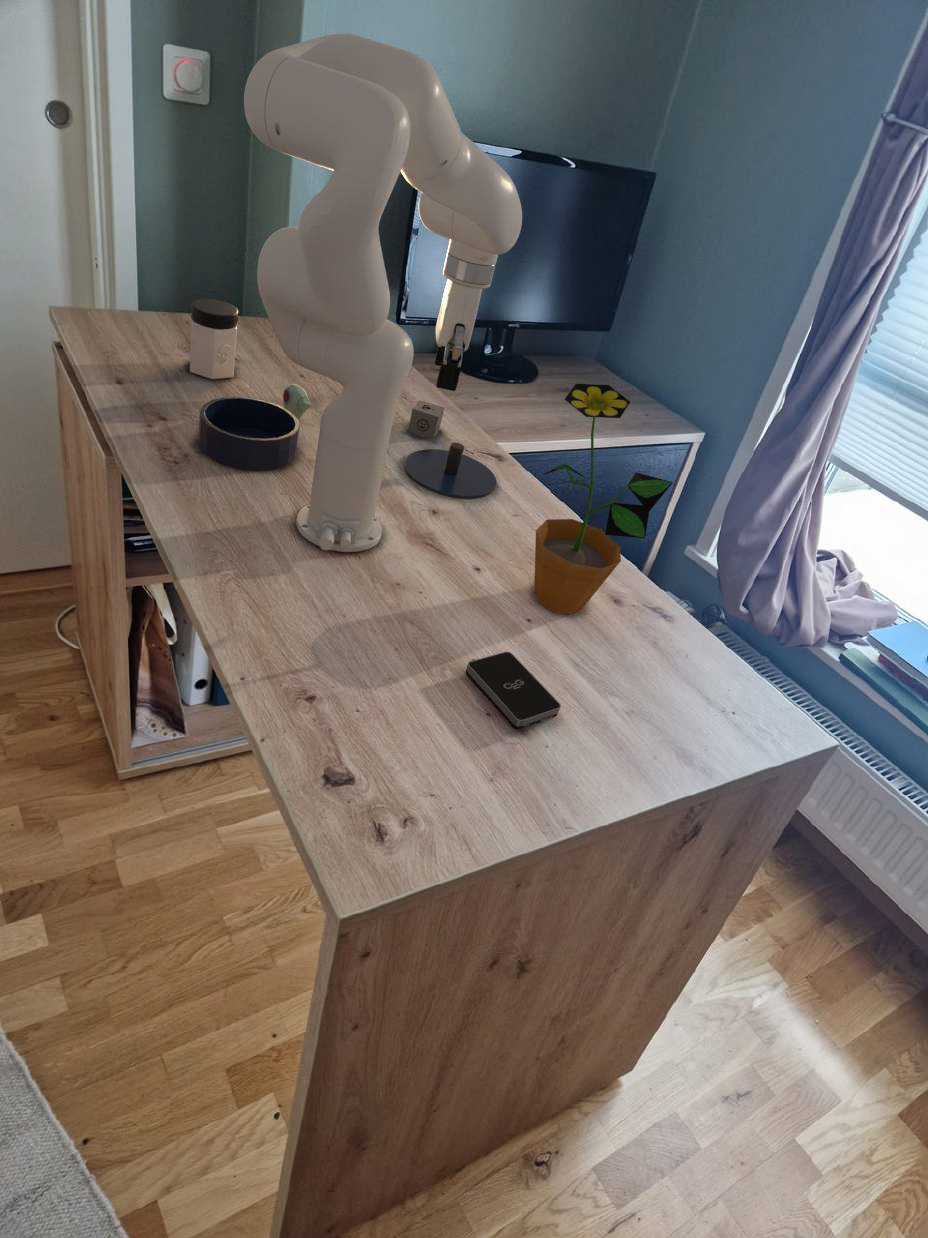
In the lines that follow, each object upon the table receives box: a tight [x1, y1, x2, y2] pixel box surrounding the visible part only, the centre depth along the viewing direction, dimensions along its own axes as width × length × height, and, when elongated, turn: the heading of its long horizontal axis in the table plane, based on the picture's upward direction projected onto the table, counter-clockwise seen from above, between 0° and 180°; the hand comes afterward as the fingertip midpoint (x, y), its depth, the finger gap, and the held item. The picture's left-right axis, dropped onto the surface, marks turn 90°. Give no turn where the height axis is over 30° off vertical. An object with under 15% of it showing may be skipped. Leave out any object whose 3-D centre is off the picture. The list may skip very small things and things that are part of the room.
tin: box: [198, 396, 301, 472], centre depth 134 cm, size 15×15×5 cm
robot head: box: [282, 383, 313, 421], centre depth 145 cm, size 8×4×7 cm, turn 34°
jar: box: [189, 298, 239, 380], centre depth 152 cm, size 9×8×12 cm
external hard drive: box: [465, 651, 562, 731], centre depth 100 cm, size 7×11×2 cm, turn 35°
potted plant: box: [533, 383, 674, 616], centre depth 112 cm, size 18×19×30 cm
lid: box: [403, 442, 498, 500], centre depth 142 cm, size 16×16×6 cm
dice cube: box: [407, 399, 445, 440], centre depth 154 cm, size 5×5×5 cm
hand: (444, 377), depth 135 cm, fingers open, 9 cm apart
